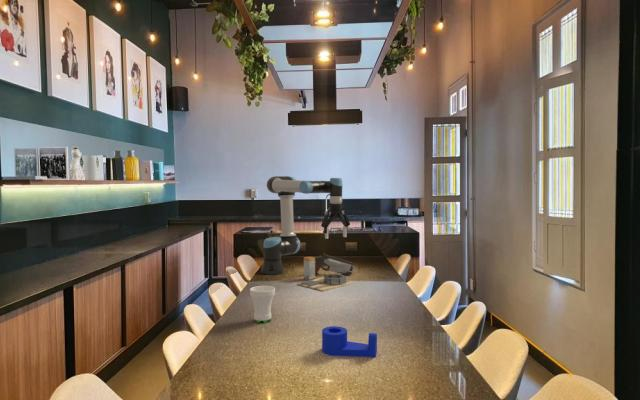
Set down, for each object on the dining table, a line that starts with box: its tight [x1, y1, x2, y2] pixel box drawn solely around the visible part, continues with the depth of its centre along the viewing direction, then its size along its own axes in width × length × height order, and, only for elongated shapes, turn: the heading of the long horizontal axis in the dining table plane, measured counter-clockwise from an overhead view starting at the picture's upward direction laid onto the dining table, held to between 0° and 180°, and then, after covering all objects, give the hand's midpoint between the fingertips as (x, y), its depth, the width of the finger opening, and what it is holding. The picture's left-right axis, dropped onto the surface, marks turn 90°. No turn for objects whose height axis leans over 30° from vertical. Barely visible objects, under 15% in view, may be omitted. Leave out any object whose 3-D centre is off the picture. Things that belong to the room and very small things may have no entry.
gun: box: [314, 252, 355, 277], centre depth 280 cm, size 5×27×15 cm, turn 89°
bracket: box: [321, 325, 378, 358], centre depth 154 cm, size 20×9×8 cm, turn 77°
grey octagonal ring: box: [323, 273, 347, 285], centre depth 256 cm, size 13×13×4 cm
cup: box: [249, 285, 276, 324], centre depth 188 cm, size 11×11×14 cm
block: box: [303, 256, 316, 281], centre depth 266 cm, size 5×5×14 cm
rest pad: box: [300, 280, 322, 286], centre depth 254 cm, size 9×9×1 cm
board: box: [296, 276, 355, 292], centre depth 255 cm, size 22×26×1 cm
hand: (335, 237), depth 262 cm, fingers open, 13 cm apart
